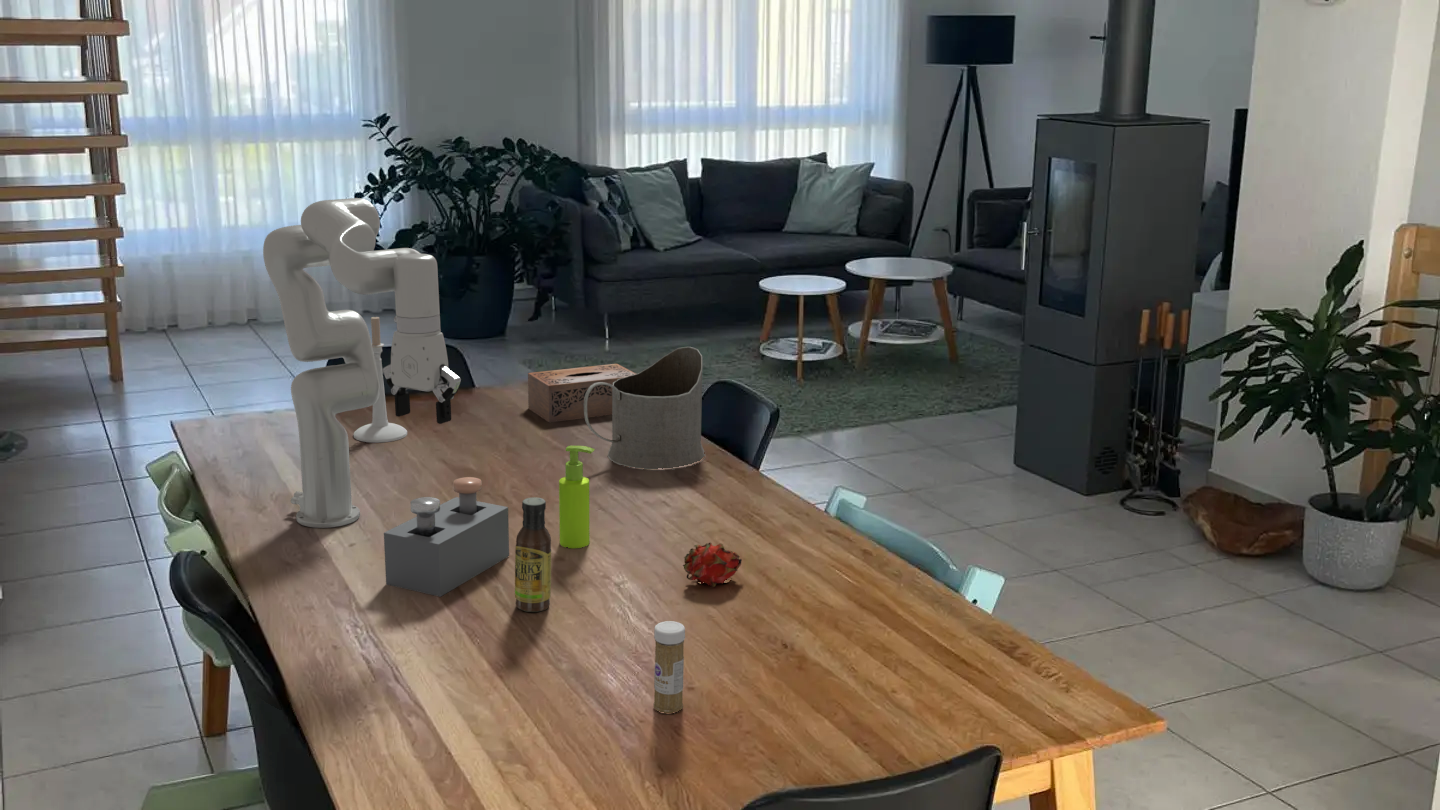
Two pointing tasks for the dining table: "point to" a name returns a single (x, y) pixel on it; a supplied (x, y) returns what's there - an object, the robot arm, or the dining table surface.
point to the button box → (446, 548)
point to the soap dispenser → (574, 502)
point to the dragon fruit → (711, 564)
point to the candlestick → (379, 402)
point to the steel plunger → (425, 514)
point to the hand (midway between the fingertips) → (423, 418)
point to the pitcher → (657, 413)
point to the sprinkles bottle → (669, 666)
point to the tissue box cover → (573, 391)
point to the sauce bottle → (533, 558)
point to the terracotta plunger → (467, 493)
